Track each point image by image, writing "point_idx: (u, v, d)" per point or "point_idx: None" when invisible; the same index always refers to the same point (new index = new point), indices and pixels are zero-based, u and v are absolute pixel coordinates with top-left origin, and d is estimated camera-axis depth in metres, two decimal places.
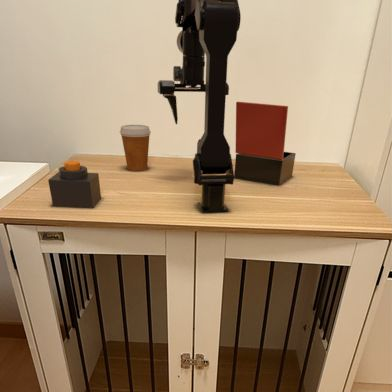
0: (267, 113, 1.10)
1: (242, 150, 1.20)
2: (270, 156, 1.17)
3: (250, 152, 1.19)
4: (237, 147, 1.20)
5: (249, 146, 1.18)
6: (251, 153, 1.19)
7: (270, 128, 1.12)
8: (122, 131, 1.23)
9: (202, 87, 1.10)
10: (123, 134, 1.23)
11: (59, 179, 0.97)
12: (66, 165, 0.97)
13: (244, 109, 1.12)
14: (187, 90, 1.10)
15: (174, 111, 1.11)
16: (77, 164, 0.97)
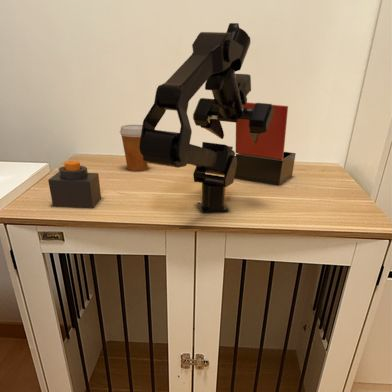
0: None
1: (242, 150, 1.20)
2: (270, 156, 1.17)
3: (250, 152, 1.19)
4: (237, 147, 1.20)
5: (249, 146, 1.18)
6: (251, 153, 1.19)
7: (270, 128, 1.12)
8: (122, 131, 1.23)
9: (240, 116, 0.95)
10: (123, 134, 1.23)
11: (59, 179, 0.97)
12: (66, 165, 0.97)
13: None
14: None
15: (214, 133, 1.03)
16: (77, 164, 0.97)
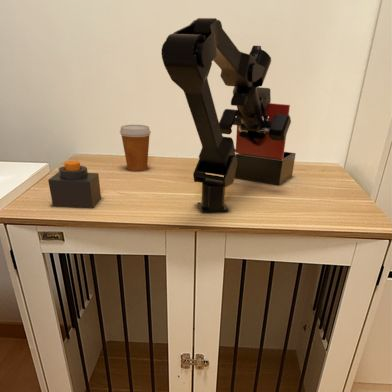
0: (269, 112, 1.11)
1: (242, 150, 1.20)
2: (270, 156, 1.17)
3: (250, 151, 1.19)
4: (237, 147, 1.20)
5: (249, 146, 1.18)
6: (251, 153, 1.19)
7: None
8: (122, 131, 1.23)
9: None
10: (123, 134, 1.23)
11: (59, 179, 0.97)
12: (66, 165, 0.97)
13: None
14: None
15: (251, 142, 1.14)
16: (77, 164, 0.97)
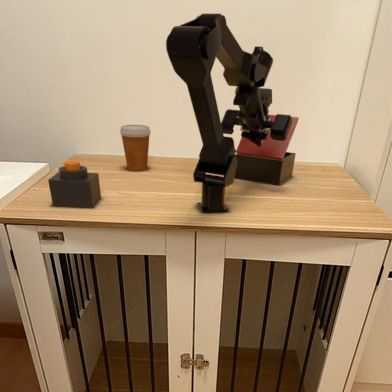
0: None
1: (243, 150, 1.21)
2: (271, 155, 1.17)
3: (251, 151, 1.20)
4: (239, 147, 1.21)
5: (252, 146, 1.20)
6: (252, 152, 1.20)
7: None
8: (122, 131, 1.23)
9: None
10: (123, 134, 1.23)
11: (59, 179, 0.97)
12: (66, 165, 0.97)
13: None
14: None
15: (253, 142, 1.15)
16: (77, 164, 0.97)
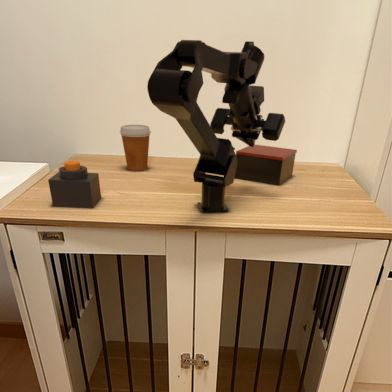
0: (278, 148, 1.26)
1: (244, 151, 1.21)
2: (271, 155, 1.18)
3: (252, 152, 1.20)
4: (240, 150, 1.22)
5: (252, 151, 1.22)
6: (252, 153, 1.20)
7: (277, 151, 1.23)
8: (122, 131, 1.23)
9: None
10: (123, 134, 1.23)
11: (59, 179, 0.97)
12: (66, 165, 0.97)
13: (258, 145, 1.29)
14: None
15: (244, 142, 1.10)
16: (77, 164, 0.97)
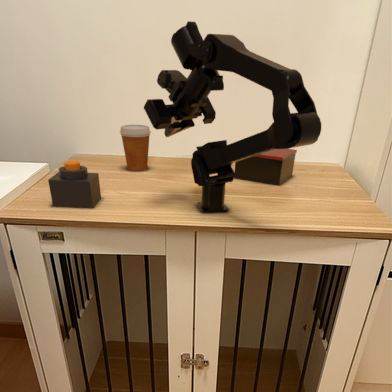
0: None
1: None
2: (271, 155, 1.18)
3: None
4: None
5: None
6: None
7: (277, 151, 1.23)
8: (122, 131, 1.23)
9: None
10: (123, 134, 1.23)
11: (59, 179, 0.97)
12: (66, 165, 0.97)
13: None
14: None
15: (172, 133, 1.01)
16: (77, 164, 0.97)
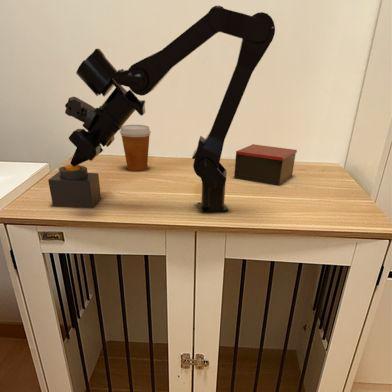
0: (278, 148, 1.26)
1: (244, 151, 1.21)
2: (271, 155, 1.18)
3: (252, 152, 1.20)
4: (240, 150, 1.22)
5: (252, 151, 1.22)
6: (252, 153, 1.20)
7: (277, 151, 1.23)
8: (122, 131, 1.23)
9: (94, 140, 0.93)
10: (123, 134, 1.23)
11: (59, 179, 0.97)
12: (67, 169, 0.97)
13: (258, 145, 1.29)
14: None
15: None
16: (77, 168, 0.98)
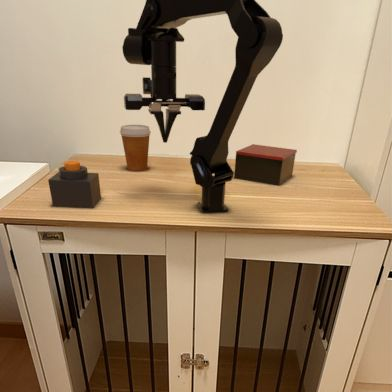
0: (278, 148, 1.26)
1: (244, 151, 1.21)
2: (271, 155, 1.18)
3: (252, 152, 1.20)
4: (240, 150, 1.22)
5: (252, 151, 1.22)
6: (252, 153, 1.20)
7: (277, 151, 1.23)
8: (122, 131, 1.23)
9: (156, 101, 0.96)
10: (123, 134, 1.23)
11: (59, 179, 0.97)
12: (66, 165, 0.97)
13: (258, 145, 1.29)
14: None
15: (161, 128, 0.99)
16: (77, 164, 0.97)
